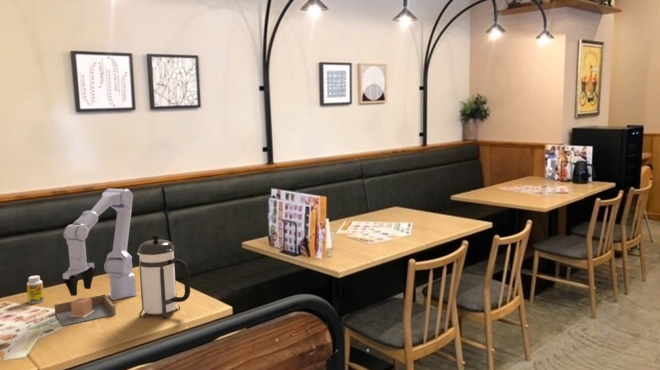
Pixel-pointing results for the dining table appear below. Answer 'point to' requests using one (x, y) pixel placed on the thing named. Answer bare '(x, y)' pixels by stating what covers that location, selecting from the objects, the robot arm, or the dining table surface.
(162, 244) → the coffee press
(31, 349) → the dining table surface
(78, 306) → the cube
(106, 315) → the tray
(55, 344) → the dining table surface
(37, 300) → the supplement bottle
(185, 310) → the dining table surface
